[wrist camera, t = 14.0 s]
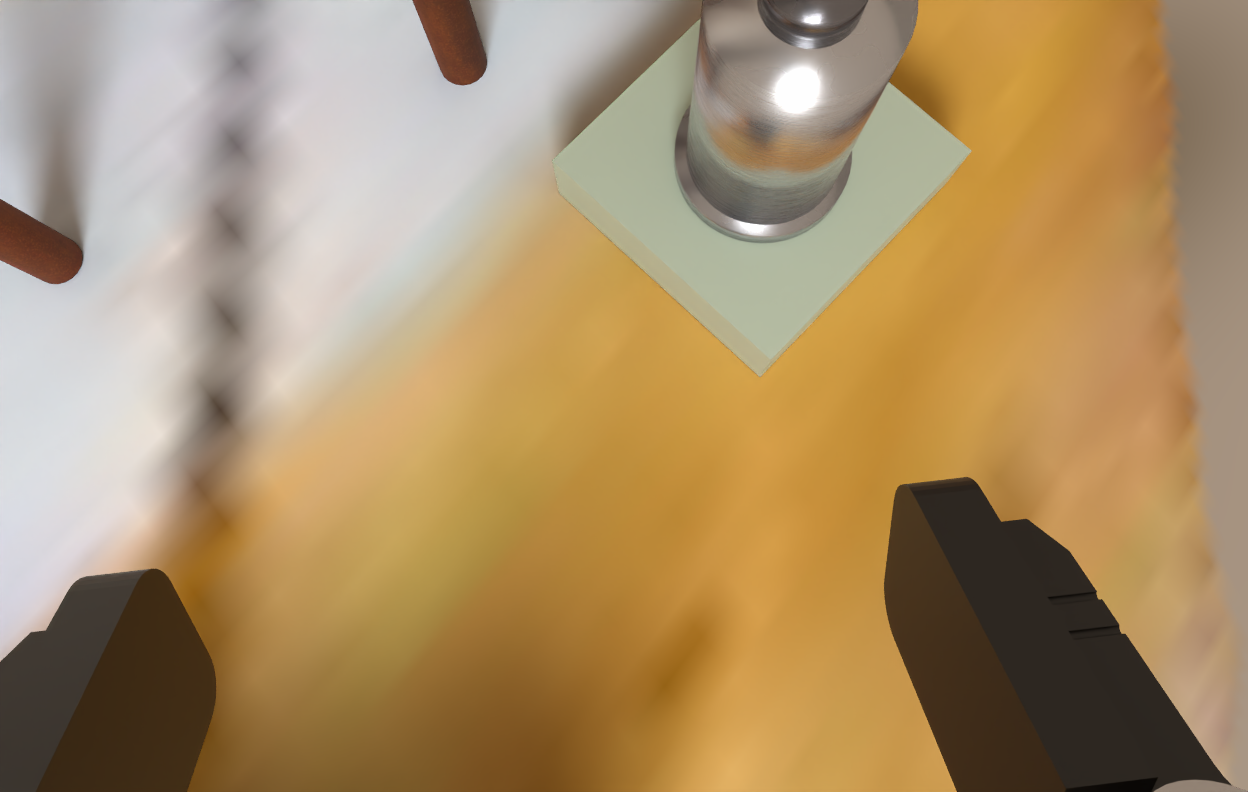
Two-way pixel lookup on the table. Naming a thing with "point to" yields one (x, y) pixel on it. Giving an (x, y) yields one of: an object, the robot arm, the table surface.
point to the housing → (782, 108)
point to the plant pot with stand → (60, 258)
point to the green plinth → (725, 267)
